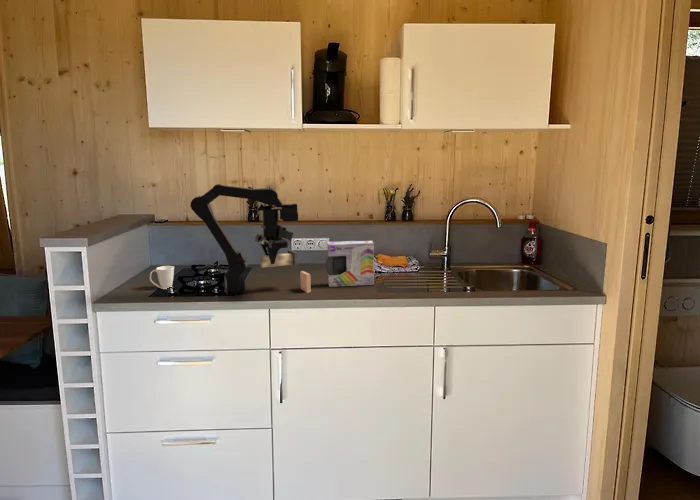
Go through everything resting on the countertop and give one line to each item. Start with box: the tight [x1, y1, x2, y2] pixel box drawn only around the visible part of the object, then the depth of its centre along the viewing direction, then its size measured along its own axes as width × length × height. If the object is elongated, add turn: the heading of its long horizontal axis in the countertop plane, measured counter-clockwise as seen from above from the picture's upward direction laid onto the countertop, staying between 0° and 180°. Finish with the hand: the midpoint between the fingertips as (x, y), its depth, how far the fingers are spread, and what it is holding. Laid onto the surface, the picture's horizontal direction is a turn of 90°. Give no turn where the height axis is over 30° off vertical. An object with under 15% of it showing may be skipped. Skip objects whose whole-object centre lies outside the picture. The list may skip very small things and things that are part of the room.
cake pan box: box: [325, 240, 375, 288], centre depth 199 cm, size 19×5×18 cm, turn 95°
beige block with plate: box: [260, 249, 298, 268], centre depth 191 cm, size 13×7×5 cm, turn 120°
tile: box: [300, 270, 311, 294], centre depth 192 cm, size 2×6×7 cm, turn 28°
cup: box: [149, 265, 175, 290], centre depth 196 cm, size 7×10×8 cm
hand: (271, 263), depth 190 cm, fingers closed on beige block with plate, 2 cm apart
